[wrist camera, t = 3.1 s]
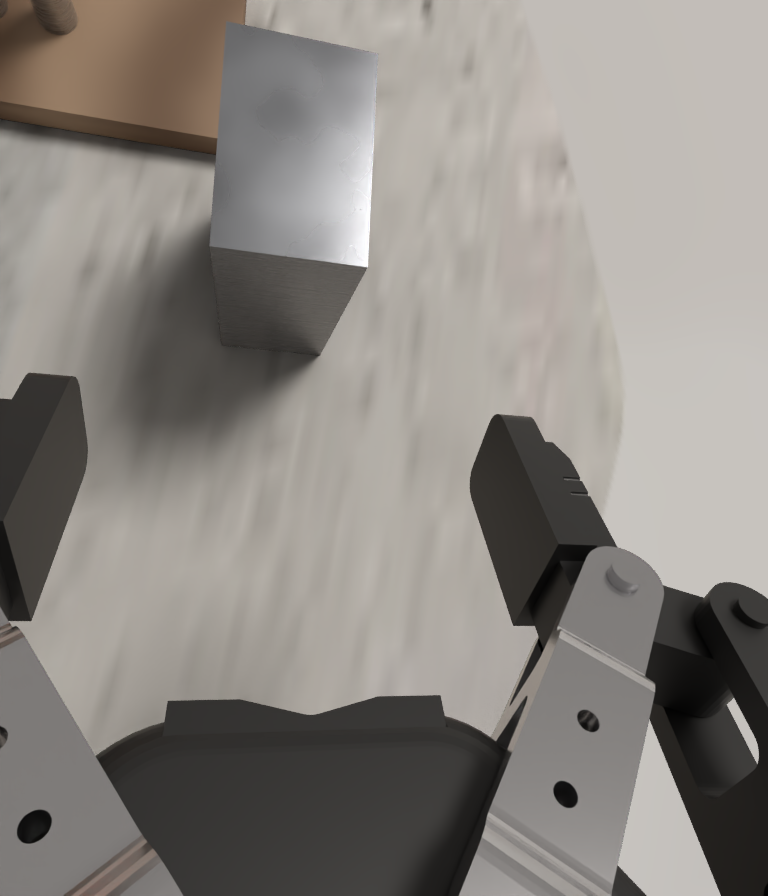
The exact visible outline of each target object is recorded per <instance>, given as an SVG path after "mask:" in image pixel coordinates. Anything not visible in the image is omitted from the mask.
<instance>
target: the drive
mask: <svg viewBox="0 0 768 896" xmlns="http://www.w3.org/2000/svg"><path fill="white" fill-rule="evenodd" d="M377 66H378V53H373V52H369V51H364V50H359V49H355V48H350V47H345V46H341V45H336V44H331V43H326V42H322V41H317V40H312V39H308V38H303V37H298V36H294V35H289V34H284V33H280V32H275V31H270V30H266V29H261V28H256V27H251V26H247V25H242V24H237V23H233V22H228V21H226V30H225V44H224V57H223V70H222V84H221V97H220V111H219V124H218V137H217V151H216V164H215V177H214V191H213V204H212V217H211V231H210V244H209V247H210V255H211V263H212V271H213V279H214V287H215V295H216V303H217V311H218V319H219V327H220V335H221V343H222V346H232V347H242V348H252V349H263V350H273V351H283V352H293V353H303V354H313V355H320V354H321V352H322V350H323V349H324V347H325V345H326V343H327V341H328V339H329V338H330V336H331V334H332V332H333V330H334V328H335V326H336V325H337V323H338V321H339V319H340V317H341V315H342V314H343V312H344V310H345V308H346V306H347V304H348V302H349V301H350V299H351V297H352V295H353V293H354V291H355V290H356V288H357V286H358V284H359V282H360V280H361V279H362V277H363V275H364V273H365V271H366V269H367V267H368V249H369V229H370V209H371V188H372V168H373V147H374V127H375V106H376V86H377Z"/></svg>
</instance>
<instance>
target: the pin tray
mask: <svg viewBox="0 0 768 896" xmlns="http://www.w3.org/2000/svg"><path fill="white" fill-rule="evenodd" d="M245 14H246V0H0V119H5V120H11V121H17V122H23V123H29V124H35V125H41V126H47V127H53V128H59V129H65V130H71V131H77V132H83V133H89V134H95V135H101V136H107V137H113V138H119V139H125V140H131V141H137V142H143V143H149V144H155V145H161V146H167V147H173V148H179V149H185V150H191V151H197V152H203V153H209V154H215V155H216V151H217V137H218V124H219V111H220V97H221V84H222V70H223V57H224V44H225V30H226V21H228V22H233V23H237V24H242V25H245Z"/></svg>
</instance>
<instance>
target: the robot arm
mask: <svg viewBox="0 0 768 896" xmlns="http://www.w3.org/2000/svg"><path fill="white" fill-rule="evenodd" d="M87 454H88V446H87V437H86V429H85V422H84V415H83V408H82V401H81V394H80V387H79V383H78V380H77V378H76V377H73V376H62V375H50V374H39V373H28V374H27V375H26V376H25V378H24V379H23V381H22V383H21V384H20V386H19V388H18V390H17V391H16V393H15V395H14V397H13V398H12V400H11V399H0V896H646V895H645V893H643V891H641V889H640V888H639V887H638V886H637V885H636V884H635V883H633V881H632V880H631V879H630V878H629V877H628V876H627V875H626V874H625V873H624V872H623V871H622V870H621V868H620V867H619V866H618V860H619V856H620V851H621V847H622V842H623V837H624V833H625V828H626V824H627V819H628V814H629V809H630V805H631V800H632V796H633V791H634V787H635V782H636V778H637V773H638V768H639V763H640V759H641V754H642V750H643V746H644V741H645V736H646V731H647V727H648V722H649V719H650V721H651V724H652V726H653V729H654V731H655V734H656V736H657V739H658V741H659V743H660V746H661V749H662V751H663V753H664V756H665V758H666V761H667V763H668V766H669V768H670V771H671V773H672V776H673V778H674V780H675V783H676V786H677V788H678V791H679V793H680V795H681V798H682V800H683V803H684V805H685V808H686V810H687V813H688V815H689V818H690V820H691V823H692V825H693V828H694V830H695V832H696V835H697V837H698V840H699V842H700V845H701V847H702V850H703V852H704V855H705V857H706V859H707V862H708V864H709V867H710V870H711V872H712V874H713V877H714V879H715V882H716V884H717V887H718V889H719V892H720V894H721V896H768V599H767V598H766V597H765V596H763V595H762V594H760V593H758V592H757V591H755V590H753V589H751V588H749V587H746V586H744V585H741V584H737V583H731V582H724V583H719V584H717V585H715V586H714V587H713V588H712V589H711V590H710V591H709V593H708V594H707V595H706V596H705V597H704V598H703V597H699V596H696V595H693V594H689V593H686V592H683V591H679V590H676V589H673V588H669V587H666V586H663V585H662V582H661V580H660V578H659V576H658V575H657V573H656V572H655V571H654V570H653V569H652V567H651V566H650V565H649V564H647V563H646V562H645V561H644V560H642V559H641V558H640V557H638V556H636V555H635V554H633V553H631V552H629V551H627V550H624V549H621V548H617V546H616V544H615V542H614V540H613V538H612V536H611V535H610V533H609V531H608V529H607V527H606V525H605V523H604V521H603V520H602V518H601V516H600V514H599V512H598V510H597V508H596V507H595V505H594V503H593V501H592V499H591V497H590V496H588V492H587V490H586V488H585V486H584V484H583V482H582V481H580V477H579V475H578V473H577V471H576V469H575V467H574V465H573V464H572V462H571V460H570V459H569V458H568V457H567V456H566V455H565V454H564V453H563V452H562V451H561V450H560V449H559V448H558V447H557V446H556V445H555V444H554V443H553V442H545V440H544V438H543V436H542V435H541V433H540V431H539V429H538V427H537V425H536V423H535V421H534V419H533V418H531V417H524V416H512V415H500V414H496V415H494V416H493V418H492V419H491V421H490V423H489V426H488V428H487V431H486V433H485V436H484V439H483V441H482V444H481V447H480V449H479V452H478V455H477V457H476V460H475V462H474V465H473V468H472V471H471V477H470V493H471V498H472V501H473V504H474V507H475V510H476V514H477V517H478V520H479V523H480V526H481V529H482V532H483V535H484V538H485V541H486V544H487V547H488V550H489V553H490V556H491V559H492V562H493V565H494V569H495V572H496V575H497V578H498V581H499V584H500V587H501V590H502V593H503V596H504V599H505V602H506V605H507V608H508V611H509V614H510V617H511V620H512V623H513V626H535V628H536V630H537V633H538V638H537V639H536V641H535V642H534V644H533V646H532V648H531V650H530V653H529V655H528V657H527V660H526V662H525V664H524V666H523V669H522V671H521V673H520V675H519V678H518V680H517V682H516V684H515V687H514V689H513V691H512V693H511V696H510V698H509V700H508V703H507V705H506V707H505V709H504V712H503V714H502V716H501V718H500V720H499V722H498V724H497V726H496V728H495V730H494V732H493V734H492V735H491V737H489V736H488V735H486V734H485V733H483V732H482V731H480V730H478V729H476V728H474V727H472V726H470V725H468V724H466V723H464V722H461V721H459V720H456V719H453V718H450V717H446V716H444V711H443V706H442V701H441V696H440V695H433V696H385V697H375V698H372V699H368V700H365V701H361V702H358V703H355V704H351V705H348V706H344V707H341V708H337V709H334V710H331V711H327V712H324V713H320V714H316V715H305V714H300V713H296V712H291V711H287V710H283V709H279V708H274V707H270V706H266V705H261V704H257V703H253V702H248V701H244V700H240V699H239V700H190V701H168V703H167V710H166V716H165V722H163V723H160V724H156V725H153V726H150V727H147V728H145V729H142V730H140V731H137V732H135V733H132V734H131V735H129V736H127V737H125V738H123V739H121V740H119V741H117V742H116V743H114V744H112V745H111V746H109V747H108V748H106V749H105V750H103V751H102V752H101V753H99V754H98V755H96V756H95V755H94V753H93V751H92V749H91V748H90V746H89V744H88V743H87V741H86V739H85V738H84V736H83V734H82V732H81V731H80V729H79V727H78V726H77V724H76V722H75V721H74V719H73V717H72V716H71V714H70V712H69V710H68V709H67V707H66V705H65V704H64V702H63V700H62V699H61V697H60V695H59V693H58V692H57V690H56V688H55V687H54V685H53V683H52V682H51V680H50V678H49V677H48V675H47V673H46V671H45V670H44V668H43V666H42V665H41V663H40V661H39V660H38V658H37V656H36V654H35V653H34V651H33V649H32V648H31V646H30V644H29V643H28V641H27V639H26V638H25V636H24V635H23V633H22V632H21V630H20V629H19V628H18V627H17V626H15V627H12V626H11V625H10V623H9V621H31V620H32V618H33V615H34V612H35V609H36V607H37V604H38V601H39V598H40V595H41V593H42V590H43V587H44V584H45V582H46V579H47V576H48V573H49V571H50V568H51V565H52V562H53V560H54V557H55V554H56V551H57V549H58V546H59V543H60V540H61V538H62V535H63V532H64V529H65V527H66V524H67V521H68V518H69V516H70V513H71V510H72V507H73V505H74V502H75V499H76V496H77V494H78V491H79V488H80V485H81V483H82V480H83V477H84V474H85V470H86V464H87ZM733 698H735V700H736V702H737V704H738V706H739V708H740V710H741V711H742V713H743V715H744V717H745V719H746V721H747V723H748V724H749V727H750V729H751V730H752V732H753V734H754V736H755V738H756V741H757V744H758V749H759V761H758V764H757V763H756V761H755V759H754V757H753V756H752V754H751V751H750V750H749V748H748V746H747V744H746V742H745V740H744V738H743V736H742V734H741V732H740V730H739V728H738V726H737V724H736V722H735V720H734V718H733V717H732V715H731V712H730V711H729V709H728V707H727V704H728V702H730V701H731V700H732V699H733Z"/></svg>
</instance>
